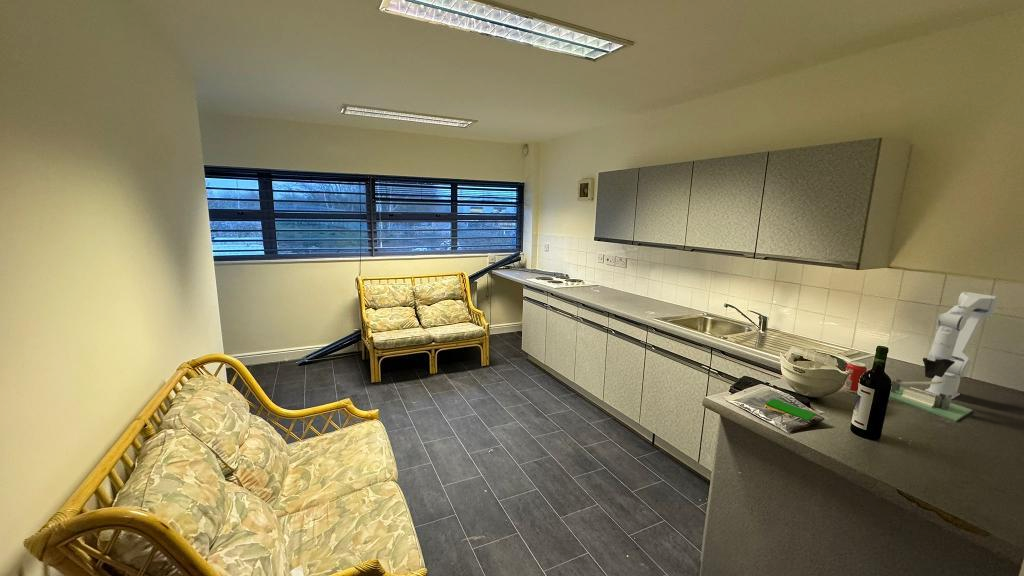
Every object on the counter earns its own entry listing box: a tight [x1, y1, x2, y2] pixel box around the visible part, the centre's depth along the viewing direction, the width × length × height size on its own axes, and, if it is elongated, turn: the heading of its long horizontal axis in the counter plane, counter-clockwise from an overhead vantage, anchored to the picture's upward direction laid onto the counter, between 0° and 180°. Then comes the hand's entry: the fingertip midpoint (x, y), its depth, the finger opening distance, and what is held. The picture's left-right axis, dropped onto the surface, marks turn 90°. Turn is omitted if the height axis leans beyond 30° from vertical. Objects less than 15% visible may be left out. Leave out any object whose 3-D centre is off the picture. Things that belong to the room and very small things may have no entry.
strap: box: [897, 381, 945, 386], centre depth 157 cm, size 3×14×1 cm, turn 28°
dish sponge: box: [764, 398, 816, 421], centre depth 146 cm, size 7×14×2 cm, turn 36°
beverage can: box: [842, 360, 868, 394], centre depth 164 cm, size 6×6×12 cm
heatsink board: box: [889, 378, 973, 422], centre depth 157 cm, size 16×24×6 cm, turn 28°
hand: (933, 376), depth 156 cm, fingers open, 7 cm apart
